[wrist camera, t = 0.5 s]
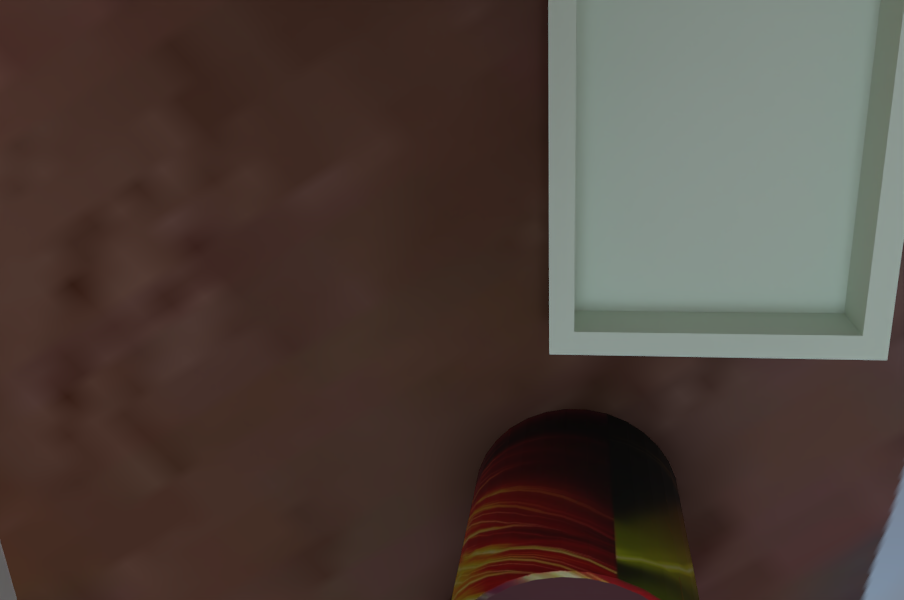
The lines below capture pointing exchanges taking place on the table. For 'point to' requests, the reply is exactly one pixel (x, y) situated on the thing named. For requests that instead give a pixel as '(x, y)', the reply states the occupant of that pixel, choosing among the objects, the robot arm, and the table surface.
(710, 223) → the tray
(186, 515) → the table surface
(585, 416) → the mug
